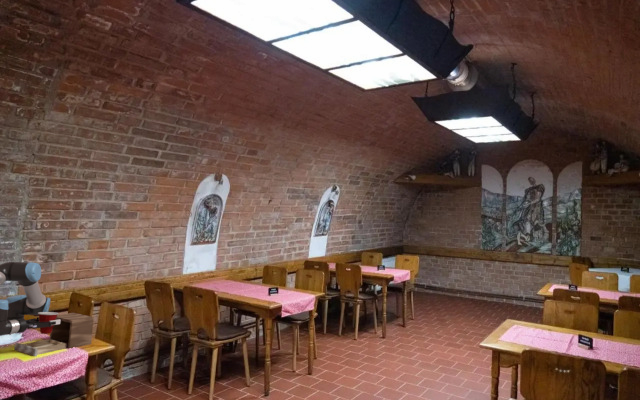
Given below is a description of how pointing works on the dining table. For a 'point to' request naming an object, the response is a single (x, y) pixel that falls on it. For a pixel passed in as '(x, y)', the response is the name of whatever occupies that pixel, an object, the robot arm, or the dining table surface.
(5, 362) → the dining table surface
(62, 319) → the block
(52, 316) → the plastic cup
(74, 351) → the dining table surface
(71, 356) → the dining table surface
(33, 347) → the tray
